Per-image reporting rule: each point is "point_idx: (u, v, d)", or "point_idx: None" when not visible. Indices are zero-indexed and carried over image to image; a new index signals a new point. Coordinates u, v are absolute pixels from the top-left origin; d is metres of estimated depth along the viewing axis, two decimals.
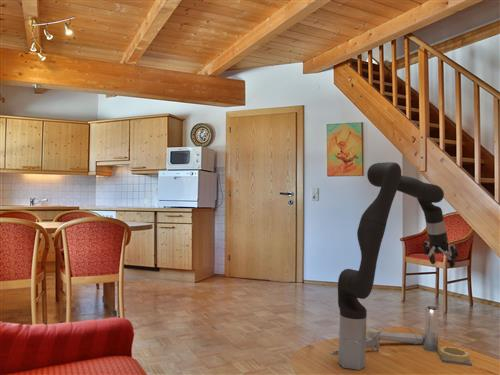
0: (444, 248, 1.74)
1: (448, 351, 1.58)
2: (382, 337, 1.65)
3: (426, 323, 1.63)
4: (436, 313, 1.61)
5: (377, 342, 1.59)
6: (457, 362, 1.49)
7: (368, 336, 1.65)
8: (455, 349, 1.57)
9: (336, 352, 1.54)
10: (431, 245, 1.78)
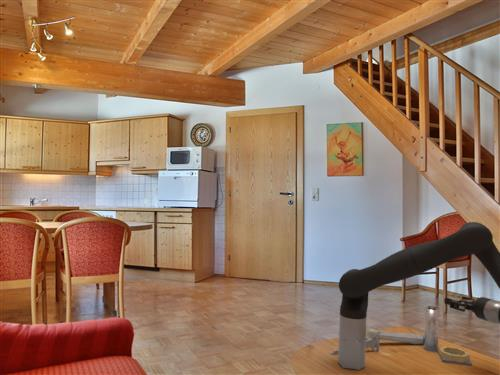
0: (467, 303, 1.45)
1: (448, 351, 1.58)
2: (382, 337, 1.65)
3: (426, 323, 1.63)
4: (436, 313, 1.61)
5: (377, 342, 1.59)
6: (457, 362, 1.49)
7: (368, 336, 1.65)
8: (455, 349, 1.57)
9: (336, 352, 1.54)
10: None
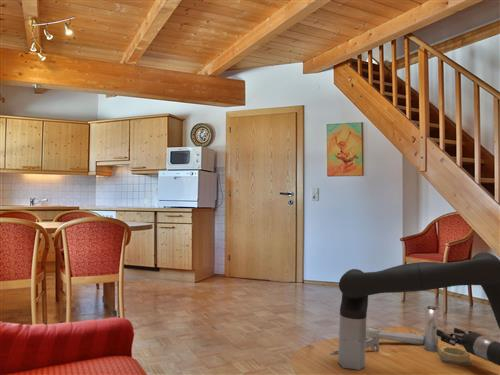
0: (458, 336, 1.47)
1: (448, 351, 1.58)
2: (381, 336, 1.66)
3: (426, 323, 1.63)
4: (436, 313, 1.61)
5: (377, 342, 1.59)
6: (457, 362, 1.49)
7: (367, 335, 1.66)
8: (455, 349, 1.57)
9: (336, 352, 1.54)
10: None
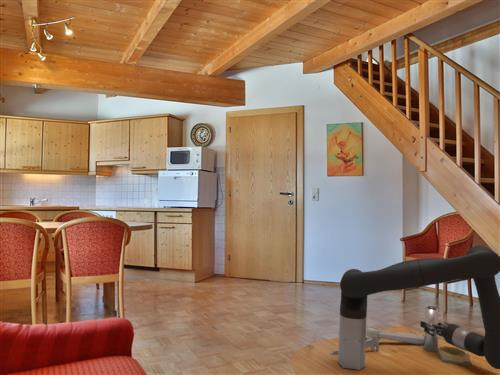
0: (438, 328, 1.56)
1: (448, 351, 1.58)
2: (382, 336, 1.66)
3: None
4: (436, 313, 1.61)
5: (377, 342, 1.59)
6: (457, 362, 1.49)
7: (367, 335, 1.66)
8: (455, 349, 1.57)
9: (336, 352, 1.54)
10: None
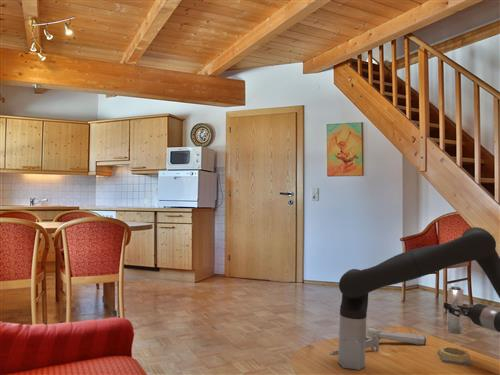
0: (464, 308, 1.47)
1: (448, 351, 1.58)
2: (382, 336, 1.66)
3: None
4: (461, 293, 1.52)
5: (377, 342, 1.59)
6: (457, 362, 1.49)
7: (368, 335, 1.66)
8: (455, 349, 1.57)
9: (336, 352, 1.54)
10: None
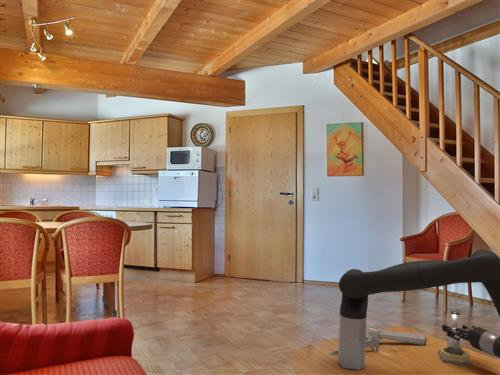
0: (463, 332, 1.47)
1: None
2: (382, 336, 1.66)
3: None
4: (460, 318, 1.52)
5: (377, 342, 1.59)
6: (457, 362, 1.49)
7: (368, 335, 1.66)
8: None
9: (336, 352, 1.54)
10: None
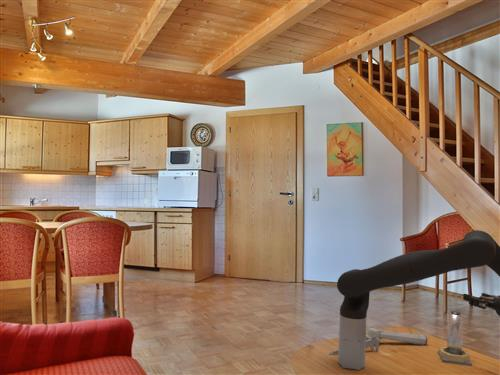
0: (488, 300, 1.37)
1: None
2: (383, 336, 1.66)
3: (449, 329, 1.53)
4: (460, 318, 1.52)
5: (376, 342, 1.59)
6: (457, 362, 1.49)
7: (369, 335, 1.66)
8: None
9: (335, 352, 1.54)
10: None
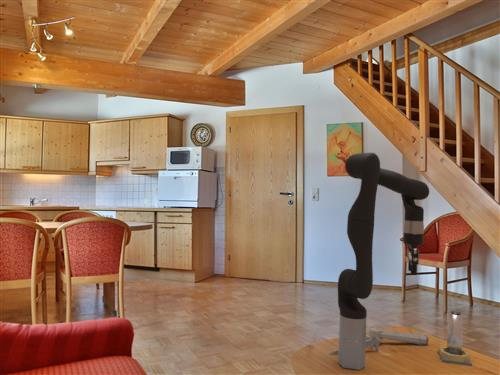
0: (410, 251, 1.61)
1: None
2: (384, 336, 1.66)
3: (449, 329, 1.53)
4: (460, 318, 1.52)
5: (376, 342, 1.59)
6: (457, 362, 1.49)
7: (370, 335, 1.67)
8: None
9: (335, 352, 1.54)
10: (409, 248, 1.67)
